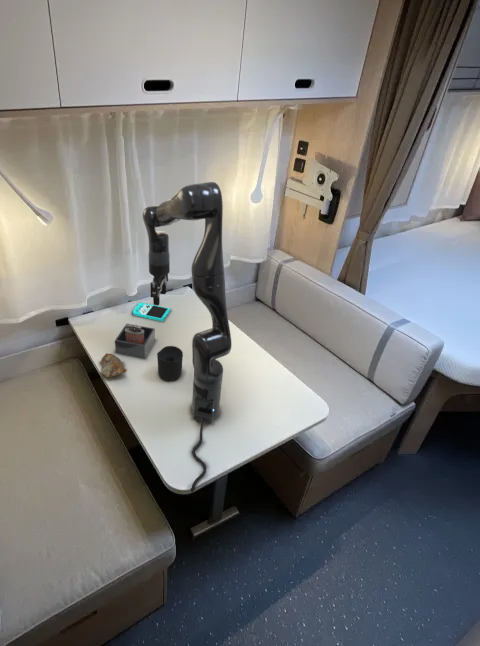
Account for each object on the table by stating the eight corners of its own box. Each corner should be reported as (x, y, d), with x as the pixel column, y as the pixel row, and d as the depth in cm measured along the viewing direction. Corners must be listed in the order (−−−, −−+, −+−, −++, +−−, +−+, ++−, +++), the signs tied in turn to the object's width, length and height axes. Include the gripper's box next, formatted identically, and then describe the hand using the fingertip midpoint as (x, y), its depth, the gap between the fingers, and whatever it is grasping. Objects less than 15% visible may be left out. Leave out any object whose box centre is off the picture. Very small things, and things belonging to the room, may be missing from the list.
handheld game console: (139, 303, 193) (139, 301, 192) (170, 310, 188) (170, 307, 187) (130, 314, 185) (130, 312, 184) (162, 321, 180) (162, 319, 180)
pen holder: (184, 380, 148) (185, 360, 143) (160, 384, 146) (159, 363, 141) (179, 364, 156) (179, 344, 150) (155, 367, 154) (155, 347, 148)
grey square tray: (144, 358, 159) (144, 346, 155) (115, 352, 162) (114, 340, 158) (155, 340, 169) (154, 328, 165) (127, 335, 172) (126, 323, 168)
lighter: (145, 343, 165) (145, 324, 160) (143, 348, 162) (142, 329, 157) (127, 341, 167) (125, 321, 161) (124, 346, 164) (123, 326, 158)
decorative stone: (106, 375, 143) (92, 355, 155) (108, 384, 145) (94, 365, 157) (130, 366, 147) (115, 348, 159) (132, 375, 149) (116, 357, 161)
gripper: (155, 251, 150) (156, 289, 159) (142, 267, 138) (144, 307, 147) (174, 253, 148) (174, 291, 157) (163, 270, 137) (163, 310, 145)
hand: (159, 299), depth 152 cm, fingers open, 8 cm apart
